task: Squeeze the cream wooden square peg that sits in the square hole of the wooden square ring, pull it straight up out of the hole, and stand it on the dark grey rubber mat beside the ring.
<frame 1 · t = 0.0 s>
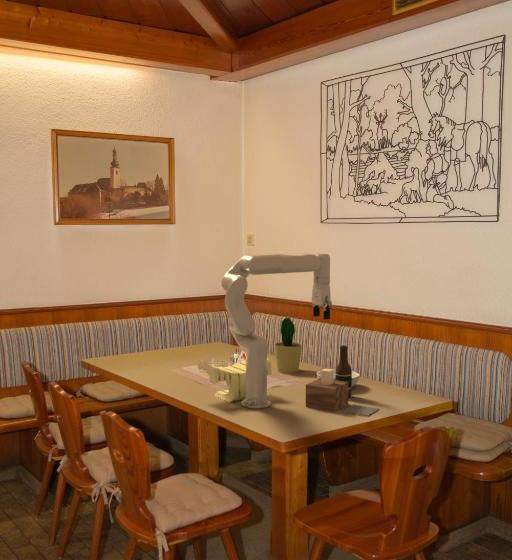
hand: (321, 317, 302), 37 cm above the table, tool pointing down, fingers open, 9 cm apart
beer bottle: (343, 397, 306), on the table
potted cactus: (288, 371, 359), on the table
rubber mat: (360, 410, 283), on the table
serving bowl: (337, 387, 324), on the table
square peg: (327, 396, 291), point 4 cm above the table, touching wooden square ring
wooden square ring: (327, 405, 292), on the table
slatted curved stool: (235, 398, 305), on the table
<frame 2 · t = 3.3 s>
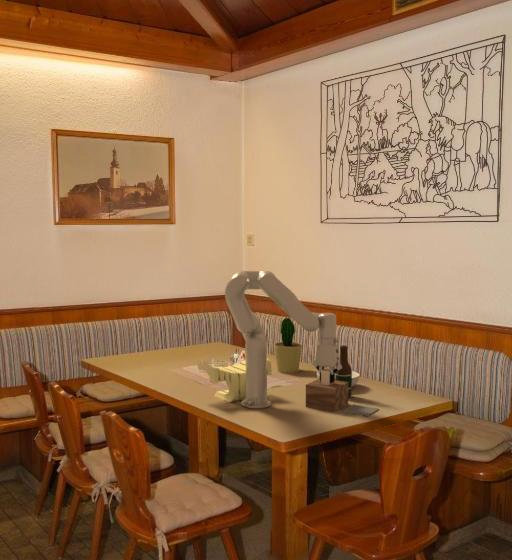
hand: (327, 381, 291), 11 cm above the table, tool pointing down, fingers closed on square peg, 4 cm apart
square peg: (327, 396, 291), point 4 cm above the table, touching gripper, wooden square ring
everything else where it was.
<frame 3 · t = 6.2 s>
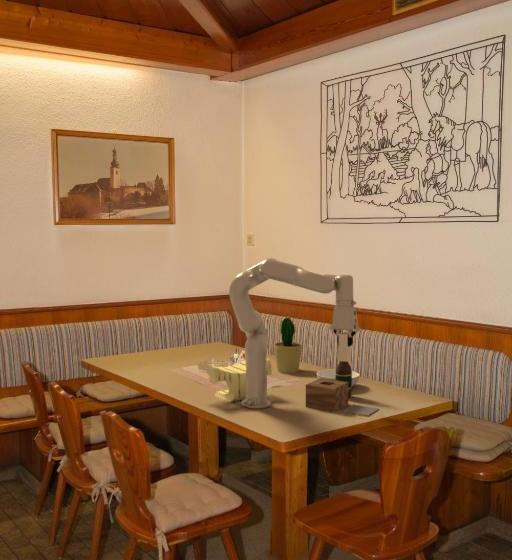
hand: (345, 345, 285), 28 cm above the table, tool pointing down, fingers closed on square peg, 4 cm apart
square peg: (345, 360, 286), point 21 cm above the table, touching gripper
everything else where it was.
when the fingers open (9 cm above the table, at t = 9.4 s): square peg drops 1 cm, resting on rubber mat.
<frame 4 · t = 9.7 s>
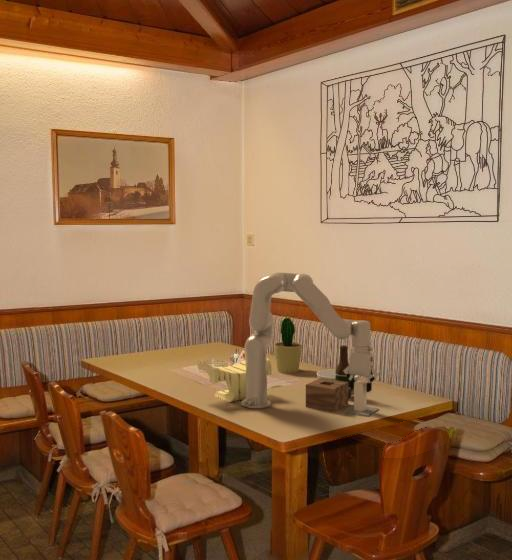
hand: (360, 389, 282), 9 cm above the table, tool pointing down, fingers open, 6 cm apart
square peg: (360, 409, 283), point 1 cm above the table, touching rubber mat
everything else where it was.
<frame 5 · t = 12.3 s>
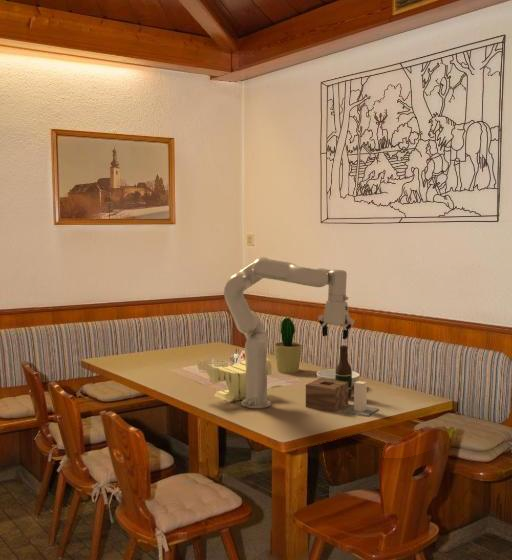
hand: (334, 337, 286), 31 cm above the table, tool pointing down, fingers open, 9 cm apart
nothing on the table moved.
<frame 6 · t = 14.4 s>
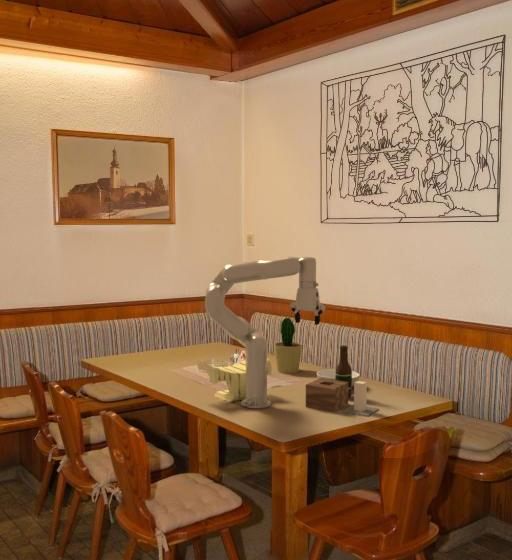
hand: (307, 323, 292), 36 cm above the table, tool pointing down, fingers open, 9 cm apart
nothing on the table moved.
at the end: square peg inside the target area on the rubber mat (0.1 cm from its centre), point 0.5 cm above the rubber mat's base; square peg tilted 0°; the gripper is holding nothing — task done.
